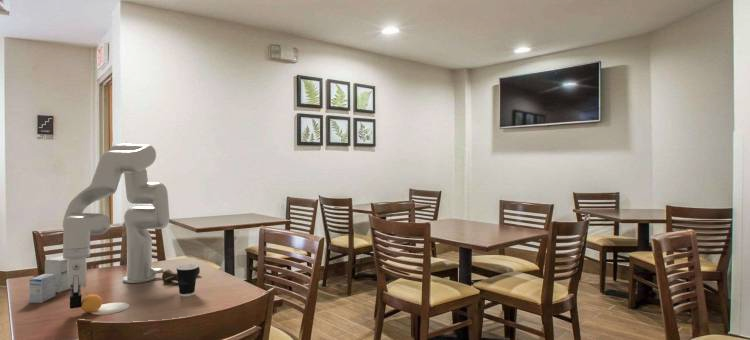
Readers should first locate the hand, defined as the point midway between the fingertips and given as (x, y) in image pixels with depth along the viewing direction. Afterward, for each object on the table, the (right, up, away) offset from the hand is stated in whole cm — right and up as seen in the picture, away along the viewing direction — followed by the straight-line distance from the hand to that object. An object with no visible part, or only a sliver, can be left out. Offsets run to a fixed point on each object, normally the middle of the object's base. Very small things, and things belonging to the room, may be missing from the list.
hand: (75, 307), depth 149 cm
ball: (+4, 0, +3) cm, 5 cm away
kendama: (+17, -2, +43) cm, 46 cm away
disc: (+8, -2, +6) cm, 10 cm away
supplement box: (-25, -2, +28) cm, 37 cm away
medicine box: (-22, -2, +15) cm, 27 cm away
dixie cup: (+28, -3, +23) cm, 36 cm away
